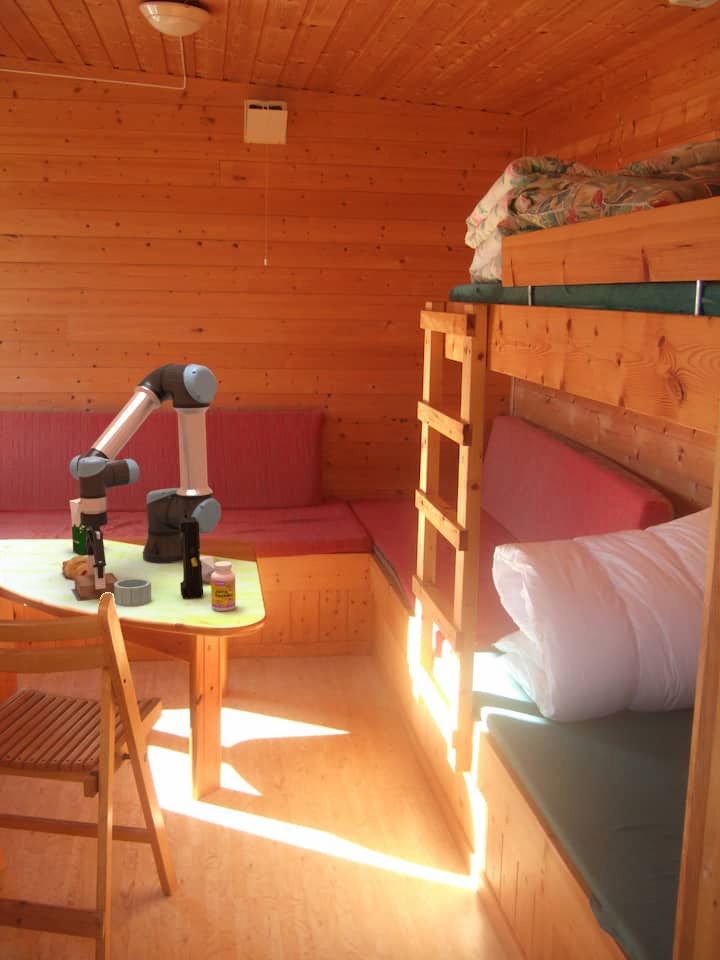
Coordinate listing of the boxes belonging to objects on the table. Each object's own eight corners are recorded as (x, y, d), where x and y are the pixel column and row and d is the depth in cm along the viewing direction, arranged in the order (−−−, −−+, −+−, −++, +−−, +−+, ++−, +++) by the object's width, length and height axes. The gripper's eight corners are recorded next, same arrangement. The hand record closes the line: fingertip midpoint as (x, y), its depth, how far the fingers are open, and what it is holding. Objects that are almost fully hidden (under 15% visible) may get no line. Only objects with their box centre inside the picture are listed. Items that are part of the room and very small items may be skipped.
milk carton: (105, 552, 334) (103, 494, 330) (80, 556, 328) (78, 498, 324) (93, 547, 340) (90, 490, 337) (68, 551, 334) (66, 494, 331)
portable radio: (204, 598, 282) (202, 513, 277) (183, 600, 280) (181, 514, 276) (201, 591, 289) (199, 508, 285) (180, 592, 287) (178, 509, 283)
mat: (115, 585, 295) (115, 584, 295) (123, 597, 283) (123, 596, 283) (71, 590, 289) (71, 589, 289) (77, 602, 278) (77, 601, 278)
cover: (112, 585, 293) (112, 572, 293) (119, 595, 283) (119, 582, 283) (75, 589, 289) (74, 576, 288) (80, 599, 279) (80, 586, 278)
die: (201, 589, 293) (220, 562, 294) (179, 573, 295) (198, 547, 296) (209, 591, 301) (227, 565, 302) (187, 575, 303) (205, 550, 304)
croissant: (106, 593, 299) (117, 568, 300) (79, 584, 292) (90, 559, 293) (72, 578, 314) (82, 554, 315) (46, 568, 307) (56, 545, 308)
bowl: (146, 594, 285) (146, 576, 284) (154, 604, 276) (153, 585, 275) (111, 598, 281) (111, 580, 280) (118, 608, 272) (117, 589, 271)
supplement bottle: (211, 612, 269) (210, 567, 267) (211, 605, 276) (210, 560, 274) (236, 611, 270) (235, 566, 268) (235, 604, 277) (234, 560, 275)
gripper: (73, 504, 292) (77, 573, 295) (87, 520, 269) (90, 595, 273) (99, 502, 295) (102, 570, 298) (114, 518, 272) (117, 592, 276)
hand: (96, 582), depth 286 cm, fingers open, 13 cm apart
